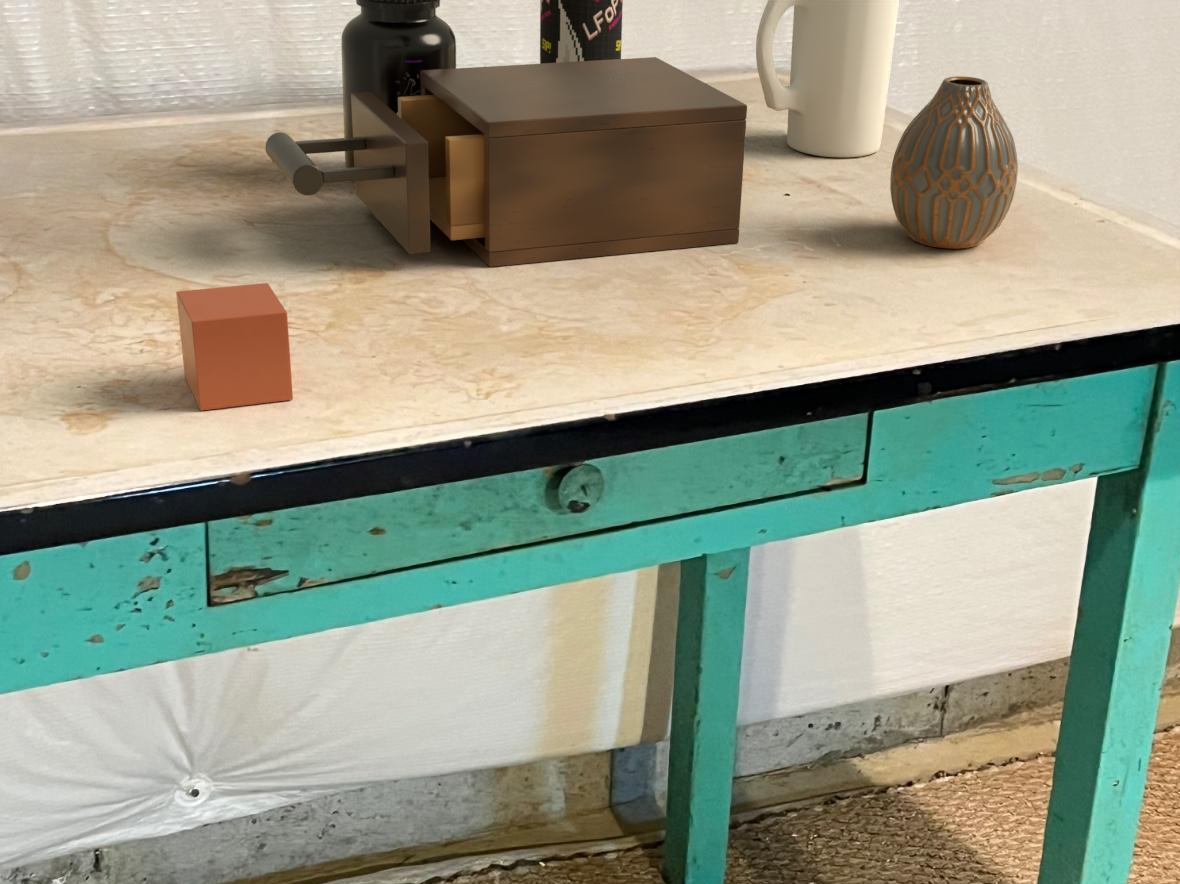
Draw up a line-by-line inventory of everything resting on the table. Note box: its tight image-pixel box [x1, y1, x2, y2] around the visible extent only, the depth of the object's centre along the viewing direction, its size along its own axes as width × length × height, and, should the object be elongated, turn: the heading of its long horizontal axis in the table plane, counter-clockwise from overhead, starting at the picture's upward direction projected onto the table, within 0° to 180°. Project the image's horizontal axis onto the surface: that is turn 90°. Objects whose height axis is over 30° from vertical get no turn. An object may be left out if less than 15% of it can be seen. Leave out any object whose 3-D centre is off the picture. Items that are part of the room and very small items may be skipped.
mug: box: [755, 0, 900, 158], centre depth 110 cm, size 10×7×12 cm, turn 118°
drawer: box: [264, 92, 485, 255], centre depth 93 cm, size 19×11×6 cm, turn 111°
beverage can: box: [539, 0, 624, 64], centre depth 119 cm, size 6×6×12 cm
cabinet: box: [420, 56, 748, 268], centre depth 95 cm, size 15×13×8 cm
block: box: [175, 282, 294, 411], centre depth 73 cm, size 4×4×4 cm
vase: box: [889, 75, 1019, 250], centre depth 94 cm, size 7×7×9 cm
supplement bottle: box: [341, 0, 457, 168], centre depth 102 cm, size 7×7×12 cm
